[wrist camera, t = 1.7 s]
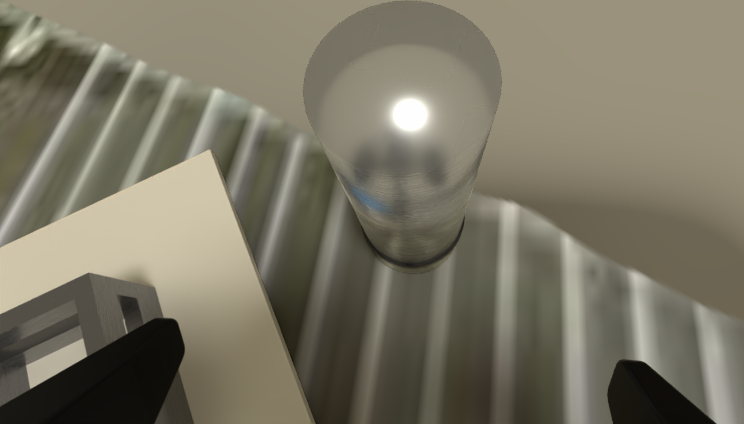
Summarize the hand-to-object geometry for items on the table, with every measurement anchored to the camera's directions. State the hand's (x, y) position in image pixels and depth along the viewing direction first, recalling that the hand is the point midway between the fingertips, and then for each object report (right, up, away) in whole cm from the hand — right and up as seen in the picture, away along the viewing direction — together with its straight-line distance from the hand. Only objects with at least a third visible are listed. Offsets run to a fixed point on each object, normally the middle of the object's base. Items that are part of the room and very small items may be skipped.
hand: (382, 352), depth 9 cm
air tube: (+2, +2, +13) cm, 13 cm away
